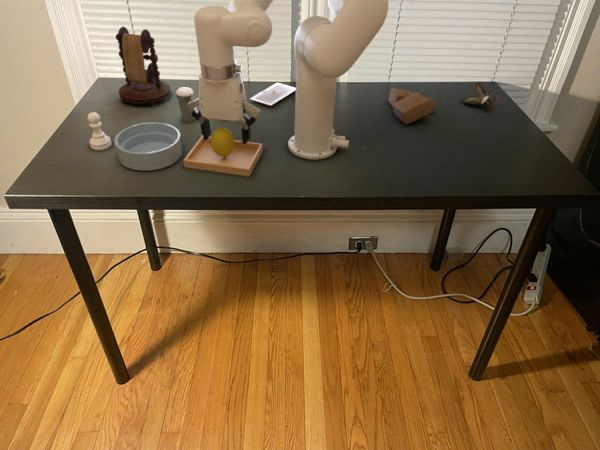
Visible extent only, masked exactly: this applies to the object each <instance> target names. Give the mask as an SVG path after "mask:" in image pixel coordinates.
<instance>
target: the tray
mask: <svg viewBox="0 0 600 450" xmlns="http://www.w3.org/2000/svg"><path fill="white" fill-rule="evenodd" d="M211 140H212V136H209V138H208V139H207V140H204V137H203V135H201V136H200V138H199V139H198V141H197V142H195V144H194V145H193V147H192V148H191V149H190V151H189V152H188V153H187V155H186V156H185V157H184V158H183V167H184V168H188V169H194V170H202V171H209V172H215V173H222V174H228V175H236V176H243V177H249V178H250V176H251V174H252V173H253V171H254V169H255V166H256V165H257V163H258V161H259V159H260V157H261V156H262V153H263V152H264V144H263V143H259V142H252V141H251V142H250V141H247V143H246V144H243V143H242V140H238V139H234V141H235V146H234V150H233V152H232V153H231V154H230V155H228V156H226V157H222V156H219V155H217V154H216V153H215V152H214V150H213V148H212V144H211Z"/></svg>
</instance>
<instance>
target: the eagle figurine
mask: <svg viewBox="0 0 600 450" xmlns="http://www.w3.org/2000/svg"><path fill="white" fill-rule="evenodd" d="M475 90H476V93H477V95H478V96H479V97H469V98H467V99H464V100H463V101H462V103H463V104H472V105H477V104H479V103H480V105H483V106H485V107H486V111H487V112H489V110H490V108H491V107H492V106H493V104H494V103H495V102H496V101H497V100H499V98H500V97H501V96H502V94H499V95H498V96H496V95H493V96H492V99H490V98H489V97H490V96H489V95H488V92H487V90H486V88H484V85H483V82H482V81H476V84H475ZM486 102H489V103H486Z"/></svg>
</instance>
